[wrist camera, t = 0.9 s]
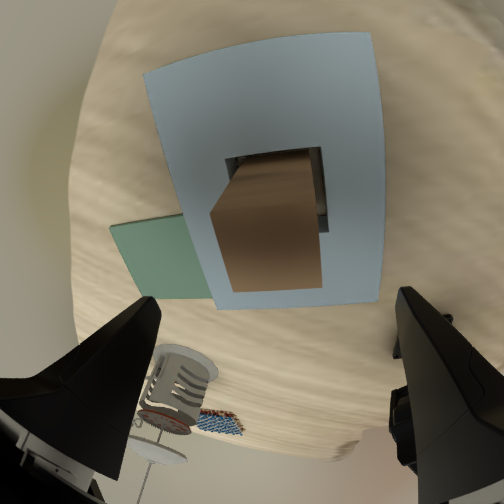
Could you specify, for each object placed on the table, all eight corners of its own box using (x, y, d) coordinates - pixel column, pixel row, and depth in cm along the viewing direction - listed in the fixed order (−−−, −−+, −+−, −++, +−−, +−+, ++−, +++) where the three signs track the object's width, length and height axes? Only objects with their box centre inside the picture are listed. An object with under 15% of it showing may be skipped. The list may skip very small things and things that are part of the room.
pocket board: (372, 282, 24) (377, 301, 22) (223, 291, 27) (217, 309, 25) (361, 38, 13) (369, 32, 11) (159, 73, 16) (142, 74, 14)
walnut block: (315, 207, 21) (322, 287, 13) (257, 213, 22) (233, 292, 14) (308, 149, 18) (316, 202, 11) (245, 157, 19) (209, 213, 12)
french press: (181, 384, 41) (136, 521, 20) (131, 340, 36) (62, 493, 15) (231, 379, 37) (191, 543, 16) (180, 329, 32) (106, 527, 11)
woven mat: (234, 409, 44) (232, 418, 43) (246, 428, 50) (245, 436, 48) (182, 402, 47) (179, 411, 45) (200, 422, 52) (198, 430, 51)
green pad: (220, 295, 27) (219, 298, 27) (145, 296, 29) (143, 298, 29) (192, 212, 22) (190, 214, 22) (110, 225, 25) (108, 227, 24)
